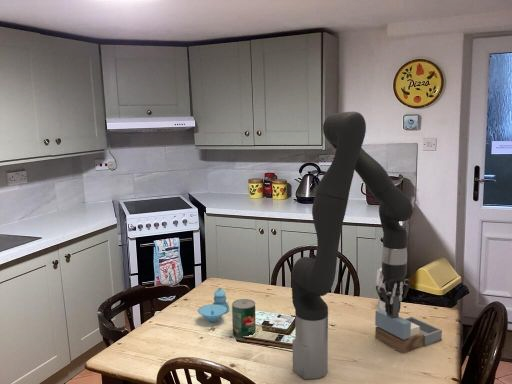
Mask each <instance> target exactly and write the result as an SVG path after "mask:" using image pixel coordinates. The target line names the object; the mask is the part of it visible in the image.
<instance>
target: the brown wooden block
mask: <svg viewBox="0 0 512 384" xmlns="http://www.w3.org/2000/svg"><path fill="white" fill-rule="evenodd" d="M374 335H375V336H374V339H376V340H377V341H379V342H381V343H383V344H385V345H386V346H388V347H390V348H392V349H394V350H395V351H398V352H400V353H401V354H406V353H409V352H411V351H415V350H417V349H419V348H422V347H424V346H423V343H424V334H422V333H420V334H417V335H414V336H412V337H410V338H407V339H404V340H403V339H401V338H399V337H397V336H395V335H393V334H391V333H389V332H387V331H385V330H384V329H382V328H380V327H378V326H375V333H374Z"/></svg>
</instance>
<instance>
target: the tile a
mask: <svg viewBox="0 0 512 384" xmlns="http://www.w3.org/2000/svg"><path fill="white" fill-rule="evenodd" d="M417 334H420V326H418V325H416V324H414V323H412V322H411V334H410V337H412V336H414V335H417Z"/></svg>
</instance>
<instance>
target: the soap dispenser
mask: <svg viewBox="0 0 512 384" xmlns="http://www.w3.org/2000/svg"><path fill="white" fill-rule="evenodd" d="M213 295H214V297H213V302H212V303H211V304H207V305H202V306H201V307H199V308H198V309H197V312H198V314H199V315H201V316H202V317H203V318H204V319H205V320H206V321H208V322H209V323H210V324H212V323H216V322H217V321H218V320H220V319H221V317H222V316H223V315H225V314H228V313H229V312H230V305H229V303H228V302H227V296H226V295H227V293H226V291H225V290H223V288H222V287H218V288H217V290H215V291H214V292H213Z"/></svg>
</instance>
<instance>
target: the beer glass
mask: <svg viewBox="0 0 512 384" xmlns="http://www.w3.org/2000/svg"><path fill="white" fill-rule="evenodd" d="M382 281H383V275H382V266H381V267H378V268H377V271H376V286H380V285H381V284H382ZM389 293H390V292H389ZM377 295H378V294H377ZM377 300H378V302H377V305H376V307H377V308H378V310H380V309H384V310H385V306H386V303H385V302H382V301H381V300H380V298H379V295H378V299H377Z"/></svg>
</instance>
